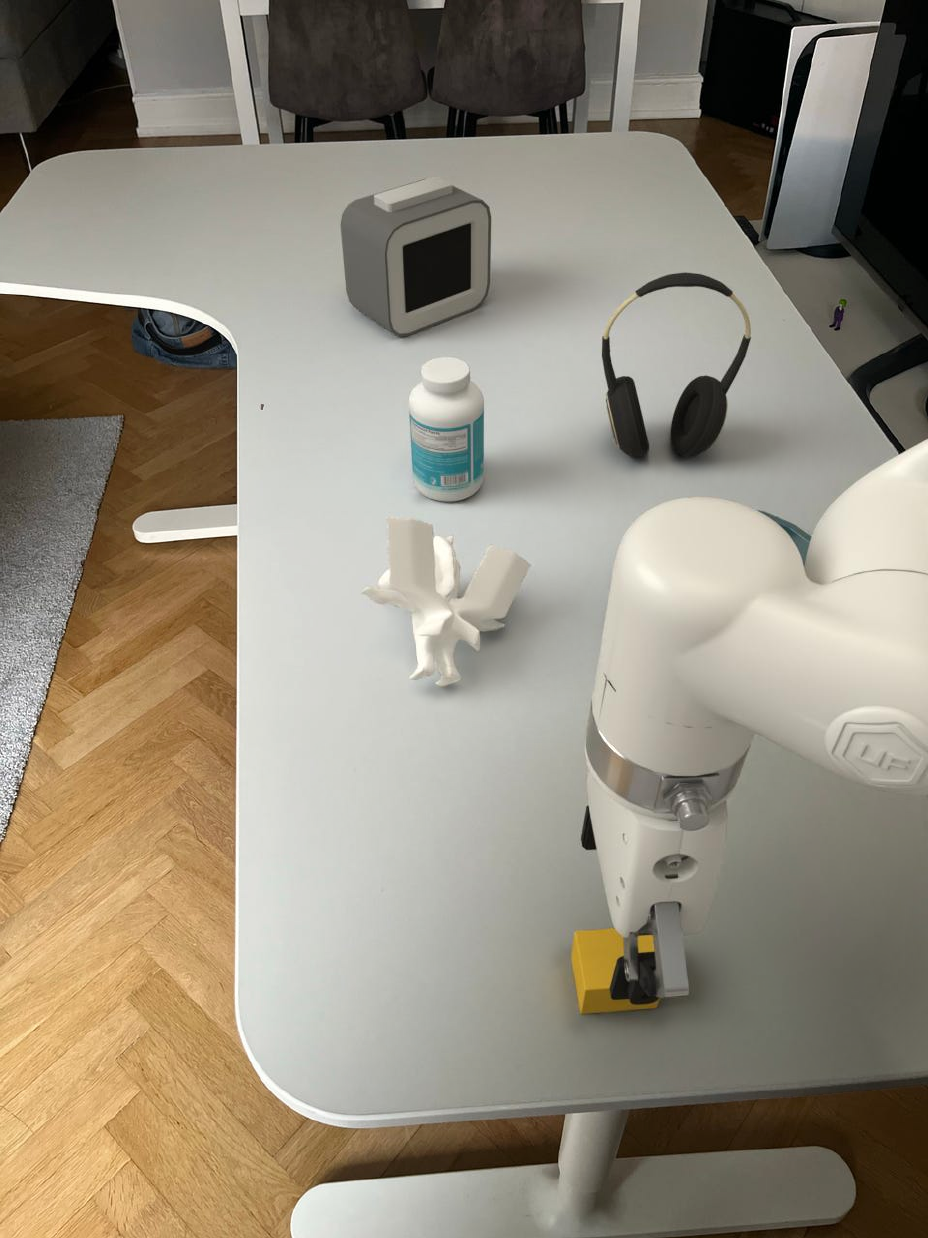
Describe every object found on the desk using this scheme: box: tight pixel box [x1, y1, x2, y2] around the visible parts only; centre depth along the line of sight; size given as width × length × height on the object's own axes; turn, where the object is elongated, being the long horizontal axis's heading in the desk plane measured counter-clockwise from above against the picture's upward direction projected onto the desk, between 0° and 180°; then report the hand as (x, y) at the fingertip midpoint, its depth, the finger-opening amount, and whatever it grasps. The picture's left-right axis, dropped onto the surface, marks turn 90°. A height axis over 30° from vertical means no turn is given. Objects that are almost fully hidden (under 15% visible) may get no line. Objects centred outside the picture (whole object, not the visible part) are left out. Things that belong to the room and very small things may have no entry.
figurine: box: [361, 516, 532, 687], centre depth 85 cm, size 15×12×14 cm
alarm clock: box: [340, 175, 492, 338], centre depth 126 cm, size 16×11×16 cm
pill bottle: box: [408, 356, 485, 502], centre depth 99 cm, size 8×7×14 cm
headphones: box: [601, 271, 752, 458], centre depth 101 cm, size 9×15×20 cm, turn 90°
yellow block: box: [570, 927, 661, 1015], centre depth 64 cm, size 4×5×4 cm
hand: (620, 914), depth 59 cm, fingers open, 9 cm apart
